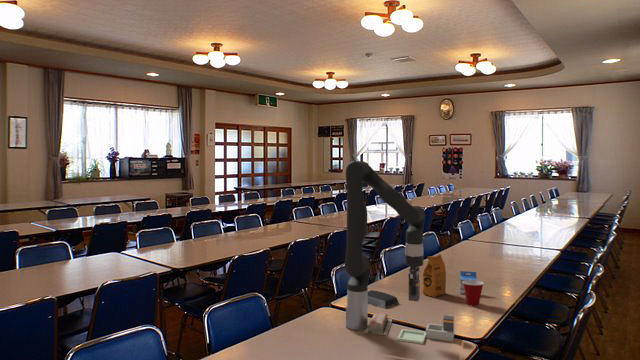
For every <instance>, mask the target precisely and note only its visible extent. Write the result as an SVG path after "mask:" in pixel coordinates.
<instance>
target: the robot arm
mask: <svg viewBox="0 0 640 360" xmlns="http://www.w3.org/2000/svg"><path fill="white" fill-rule="evenodd" d="M345 182H346V247H345V248H346V251H345V258H344V269H345V272H346V273H347V275H349V279H348V281H347V285H346V286H347V287H346V288H347V289H346V293H347V294H346V295H347V297H346V298H347V299H346V300H347V301H346V306H345V328H346V329H350V330H354V331H363V330H366V328H367V327H368V324H369V322H368V316H369V315H368V314H369V312H368V308H369V307H368V305H369V304H368V291H369V290H368V289H369V288H368V287H369V283H370V260H369V258H368V256H367V255H366V254H364V253H363V243H364V239H365V236H366V234H367V228H368V208H367V205H366V202H365V198H364V196H363V183H364V184H366V185H368V186H369V187H370V188H372V189H373V190H374V191H375V192H376V193H377V195H378V196H379V198H380V199H381V200H382V201H383V202H384V203H385V204H387V205H388V206H389V207H390V208H392V209H393V210H394V211H396V213H397V214H398V216H400V218H401V219H402V220H404V221H405V222H406V223H407V224H408V228H407V229H406V231H405V246H404V256H405V257H404V264H405V265H406V266H408V267H410V268H409V269H408V274H407V276H408V283H409V285H408V287H409V286H410V295H411V296H416V282H417V281H418V280H420V271H421V270H420V267H422V266H423V265H424V238H423V237H424V236H423V235H424V234H423V232H424V227H425V221H426V213H425V210H424V208H423V207H422V206H419V205H412V204H410V202H408V200H407V198H406V196H404V195H403V194H402V193H400V192H399V191H398V190H397V189H395V188H394V187H393V186H391V185H390V184H389V183H388V182H386V181H385V180H384V179H383V178H382V177H381V176H380V175H379V174H378V173H377V172H376V170H374V169H373V168H372V167H371V165H370V164H368V163H367V162H366V161H363V160H353V161H351V162H349V163H348V164H347V166H346V167H345ZM412 282H414V284H412Z"/></svg>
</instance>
